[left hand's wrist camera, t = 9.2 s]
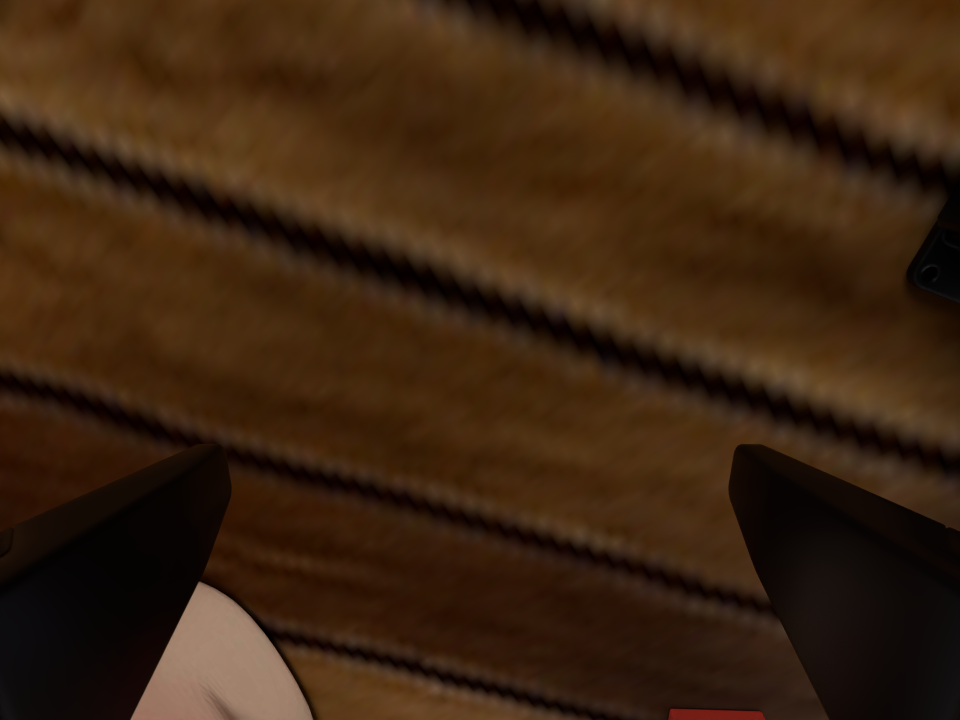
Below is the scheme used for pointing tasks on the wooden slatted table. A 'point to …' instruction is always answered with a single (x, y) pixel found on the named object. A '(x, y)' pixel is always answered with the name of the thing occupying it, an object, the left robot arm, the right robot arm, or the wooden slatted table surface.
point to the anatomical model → (220, 669)
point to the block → (714, 715)
